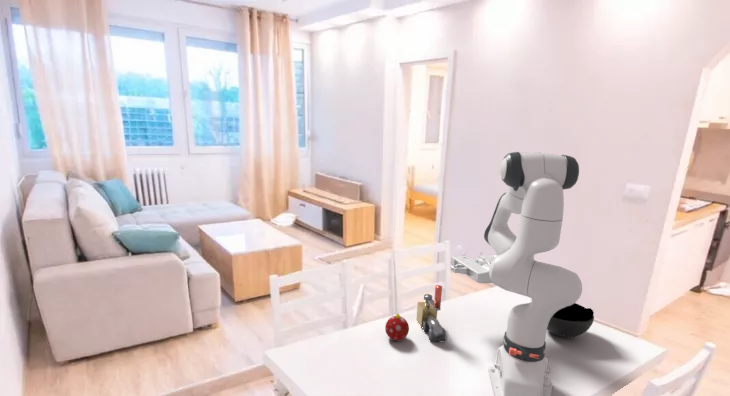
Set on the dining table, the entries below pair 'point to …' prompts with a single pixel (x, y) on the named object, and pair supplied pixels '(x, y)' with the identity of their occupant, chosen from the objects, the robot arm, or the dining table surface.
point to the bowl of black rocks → (571, 321)
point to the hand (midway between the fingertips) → (452, 269)
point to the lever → (437, 301)
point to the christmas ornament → (397, 328)
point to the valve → (430, 322)
